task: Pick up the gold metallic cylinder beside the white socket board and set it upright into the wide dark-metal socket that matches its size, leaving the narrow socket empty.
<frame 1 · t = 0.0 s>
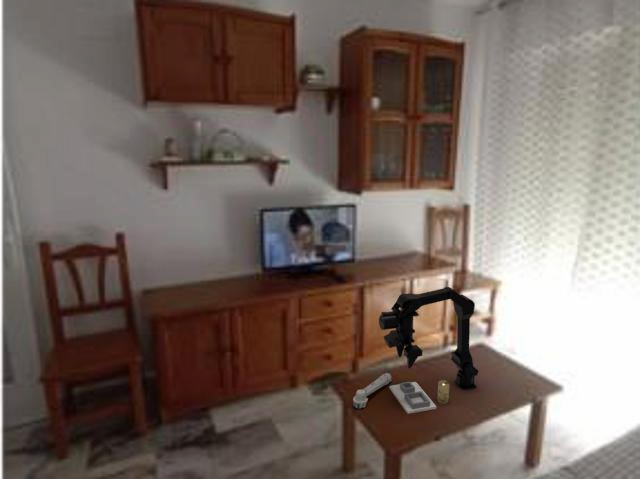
hand: (404, 362, 177), 15 cm above the table, fingers open, 9 cm apart
gold metallic cylinder: (442, 400, 176), on the table
white handheld shower head: (373, 394, 181), on the table
white socket board: (411, 398, 178), on the table
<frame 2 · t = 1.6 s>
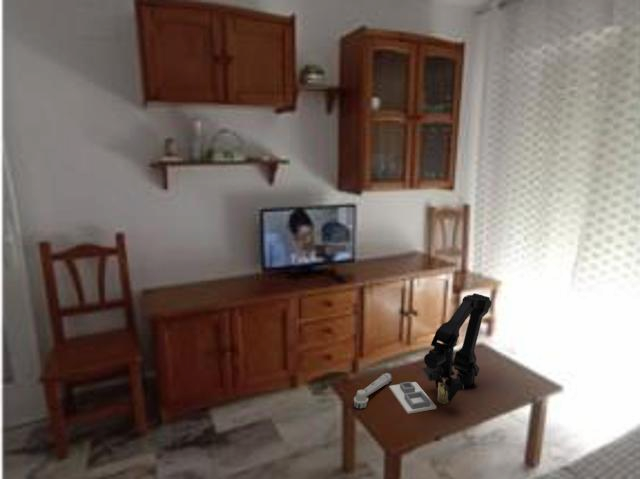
hand: (443, 394, 175), 3 cm above the table, fingers open, 9 cm apart
nothing on the table moved.
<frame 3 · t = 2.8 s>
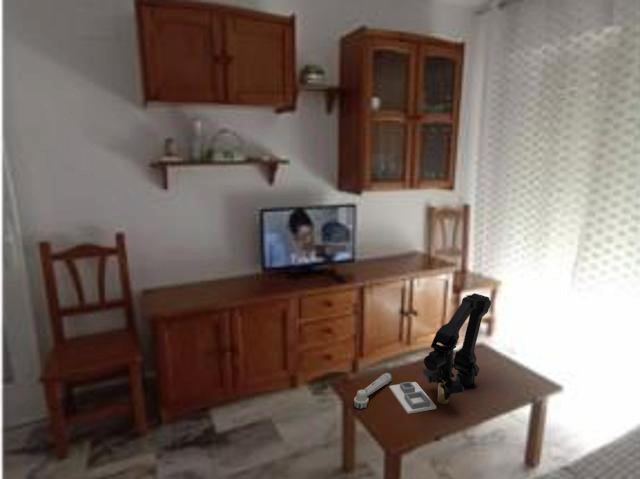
hand: (443, 396, 175), 2 cm above the table, fingers closed on gold metallic cylinder, 4 cm apart
gold metallic cylinder: (442, 400, 176), on the table, touching gripper
everything else where it was.
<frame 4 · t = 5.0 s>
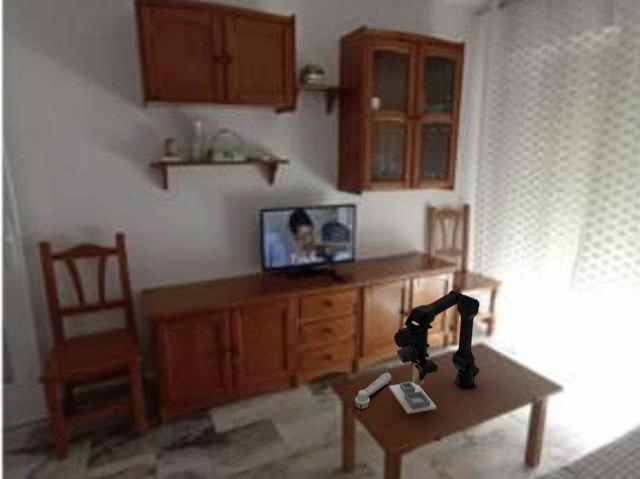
hand: (418, 377, 171), 12 cm above the table, fingers closed on gold metallic cylinder, 4 cm apart
gold metallic cylinder: (418, 382, 171), point 10 cm above the table, touching gripper
everything else where it was.
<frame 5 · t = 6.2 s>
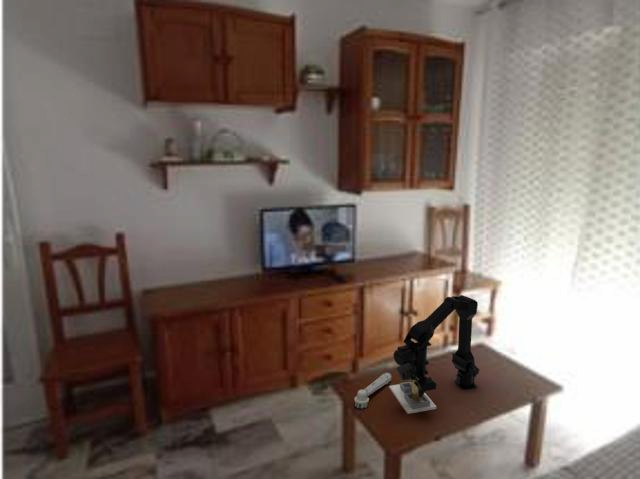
hand: (417, 393, 173), 5 cm above the table, fingers closed on gold metallic cylinder, 4 cm apart
gold metallic cylinder: (417, 398, 173), point 3 cm above the table, touching gripper
everything else where it was.
when the fingers open (4 cm above the table, at t = 7.1 s): gold metallic cylinder stays where it is, resting on white socket board.
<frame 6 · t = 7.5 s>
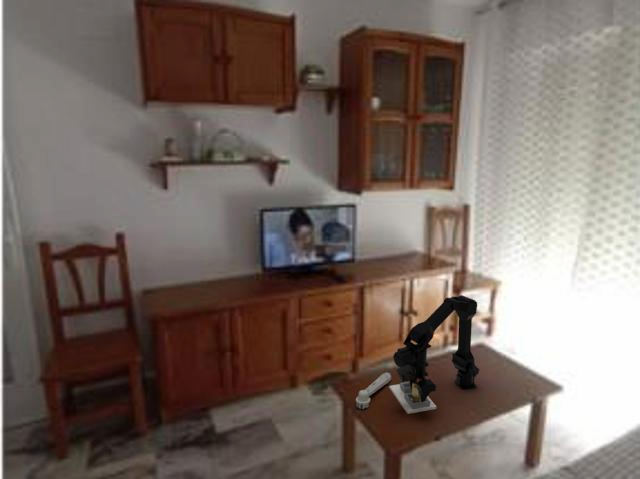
hand: (417, 395, 173), 4 cm above the table, fingers open, 8 cm apart
gold metallic cylinder: (417, 402, 173), point 1 cm above the table, touching white socket board
everything else where it was.
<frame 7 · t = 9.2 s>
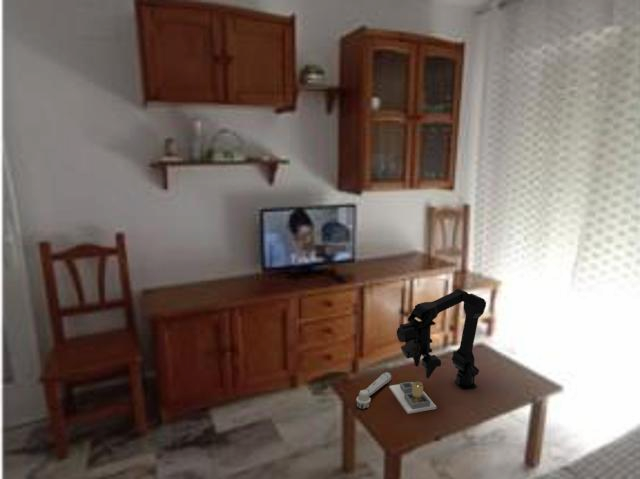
hand: (421, 372, 175), 12 cm above the table, fingers open, 9 cm apart
nothing on the table moved.
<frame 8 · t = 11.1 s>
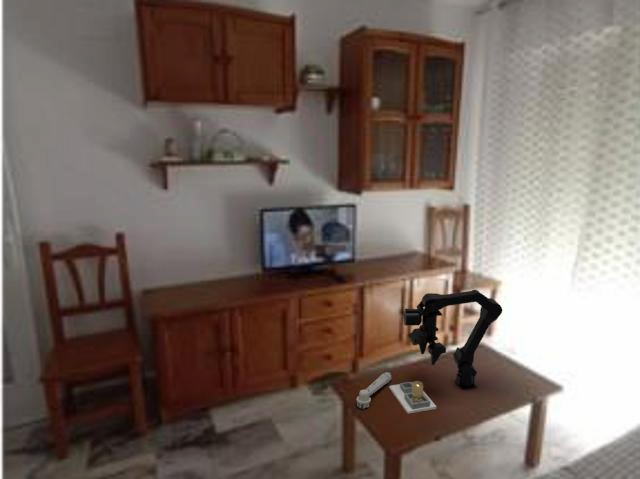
hand: (427, 359, 184), 12 cm above the table, fingers open, 9 cm apart
nothing on the table moved.
at the end: gold metallic cylinder 0.0 cm from the target spot on the white socket board, point 1.0 cm above the white socket board's base; gold metallic cylinder tilted 1°; the gripper is holding nothing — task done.
